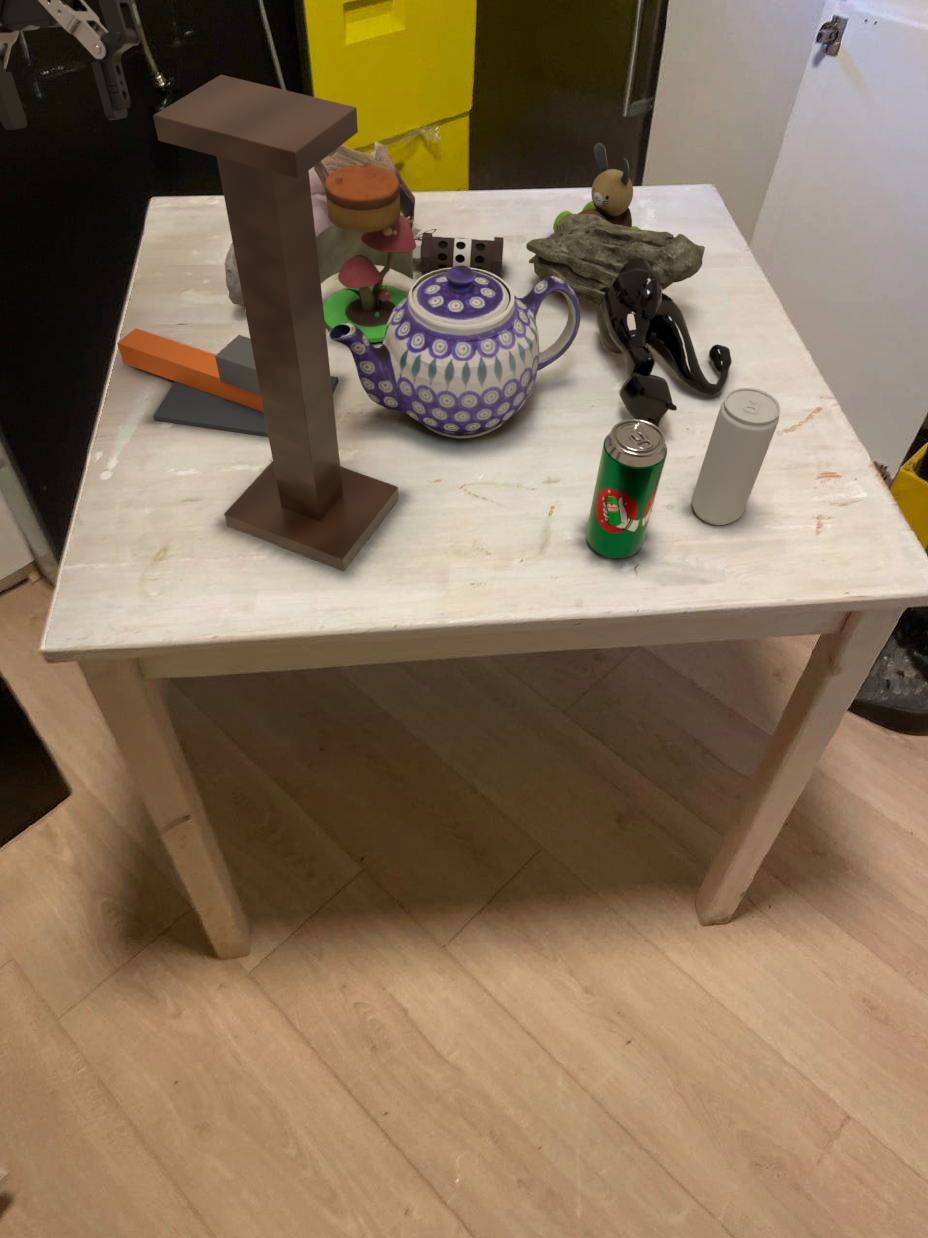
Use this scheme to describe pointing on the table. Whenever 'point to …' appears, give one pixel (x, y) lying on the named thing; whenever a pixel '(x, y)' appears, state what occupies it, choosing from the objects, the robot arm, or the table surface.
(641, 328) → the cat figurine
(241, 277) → the walnut stand
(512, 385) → the teapot
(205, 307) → the table surface
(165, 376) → the hammer with orange handle
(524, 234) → the table surface
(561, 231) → the stone
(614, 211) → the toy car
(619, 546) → the soda can
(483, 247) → the brown holed brick
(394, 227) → the mushroom terrarium
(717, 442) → the beverage can
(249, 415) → the grey mat
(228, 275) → the stone
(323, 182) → the fragment
